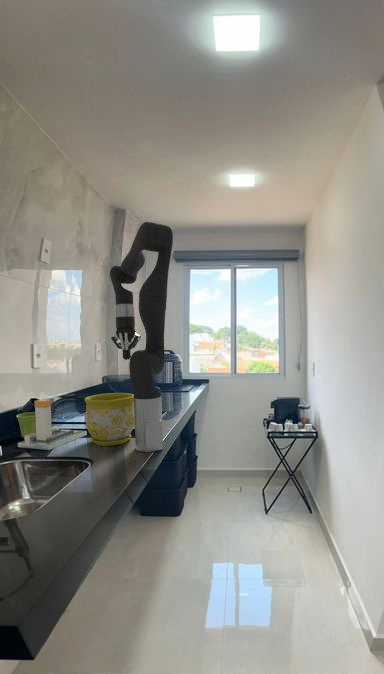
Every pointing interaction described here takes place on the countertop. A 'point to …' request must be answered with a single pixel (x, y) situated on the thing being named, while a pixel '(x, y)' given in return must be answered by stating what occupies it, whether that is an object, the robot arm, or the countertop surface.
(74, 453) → the countertop surface
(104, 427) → the flowerpot
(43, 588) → the countertop surface
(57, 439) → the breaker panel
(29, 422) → the plant pot
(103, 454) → the countertop surface
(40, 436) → the white bottle
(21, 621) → the countertop surface
